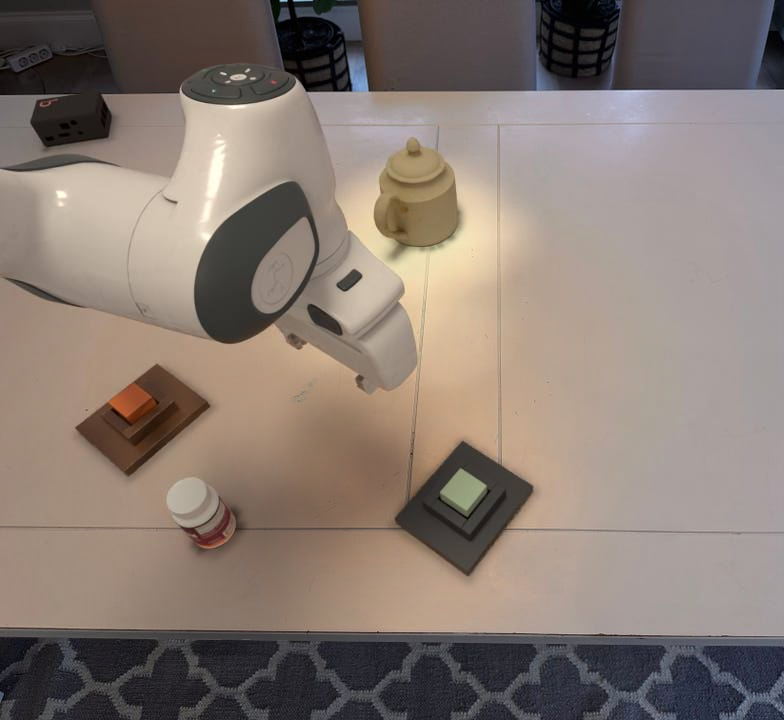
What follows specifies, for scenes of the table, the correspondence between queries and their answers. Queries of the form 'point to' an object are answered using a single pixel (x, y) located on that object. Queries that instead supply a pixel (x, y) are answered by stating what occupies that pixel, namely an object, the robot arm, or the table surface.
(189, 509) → the pill bottle
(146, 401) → the far key
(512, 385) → the table surface
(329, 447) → the table surface
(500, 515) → the dark grey stepped base
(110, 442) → the brown button base
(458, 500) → the near key
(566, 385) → the table surface
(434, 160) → the sugar bowl
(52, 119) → the electronic device
